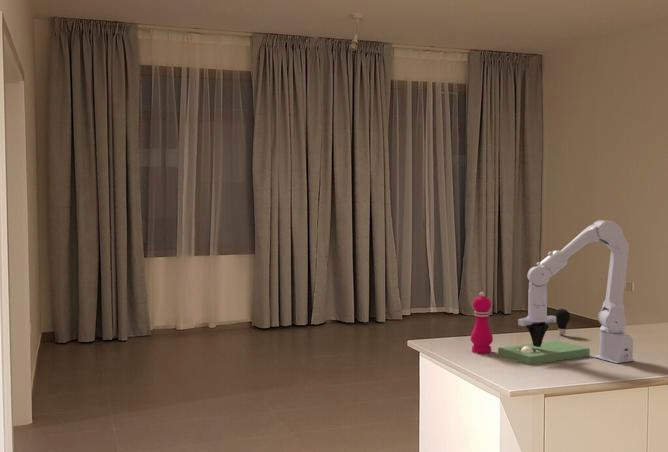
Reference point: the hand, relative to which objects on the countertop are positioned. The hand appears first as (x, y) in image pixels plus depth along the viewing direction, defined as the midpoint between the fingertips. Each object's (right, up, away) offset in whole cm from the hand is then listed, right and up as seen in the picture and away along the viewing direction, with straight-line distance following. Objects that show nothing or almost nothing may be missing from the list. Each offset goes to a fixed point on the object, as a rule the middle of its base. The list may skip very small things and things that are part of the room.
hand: (537, 346), depth 214 cm
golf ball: (-4, -2, -2) cm, 5 cm away
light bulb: (+20, -2, +34) cm, 39 cm away
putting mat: (+3, -3, +2) cm, 5 cm away
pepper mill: (-16, -3, +7) cm, 18 cm away
